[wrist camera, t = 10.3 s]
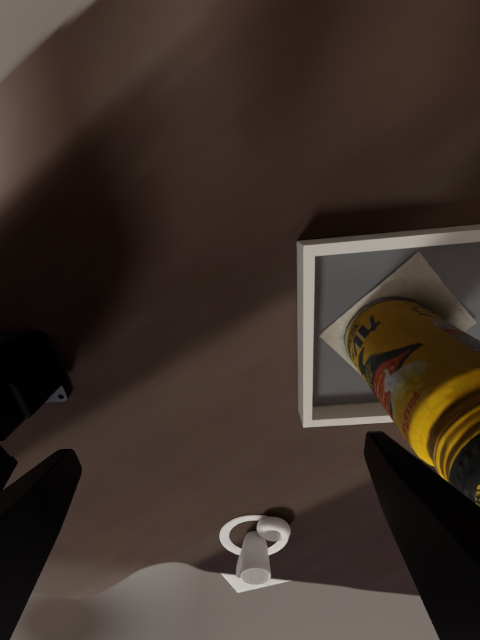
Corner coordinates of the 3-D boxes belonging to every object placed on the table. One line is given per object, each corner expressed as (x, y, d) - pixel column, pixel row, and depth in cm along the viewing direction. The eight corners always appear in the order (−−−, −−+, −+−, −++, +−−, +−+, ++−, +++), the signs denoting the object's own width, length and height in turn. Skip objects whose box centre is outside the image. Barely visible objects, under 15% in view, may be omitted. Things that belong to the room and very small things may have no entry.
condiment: (318, 334, 20) (406, 489, 9) (417, 250, 18) (695, 327, 7) (376, 389, 22) (506, 571, 11) (473, 320, 20) (760, 467, 9)
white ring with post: (279, 500, 30) (285, 544, 26) (303, 541, 33) (311, 585, 29) (208, 521, 31) (203, 564, 27) (236, 557, 34) (236, 601, 30)
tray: (298, 408, 24) (303, 427, 22) (296, 240, 18) (303, 245, 16) (466, 397, 23) (487, 416, 21) (518, 220, 18) (553, 222, 16)
